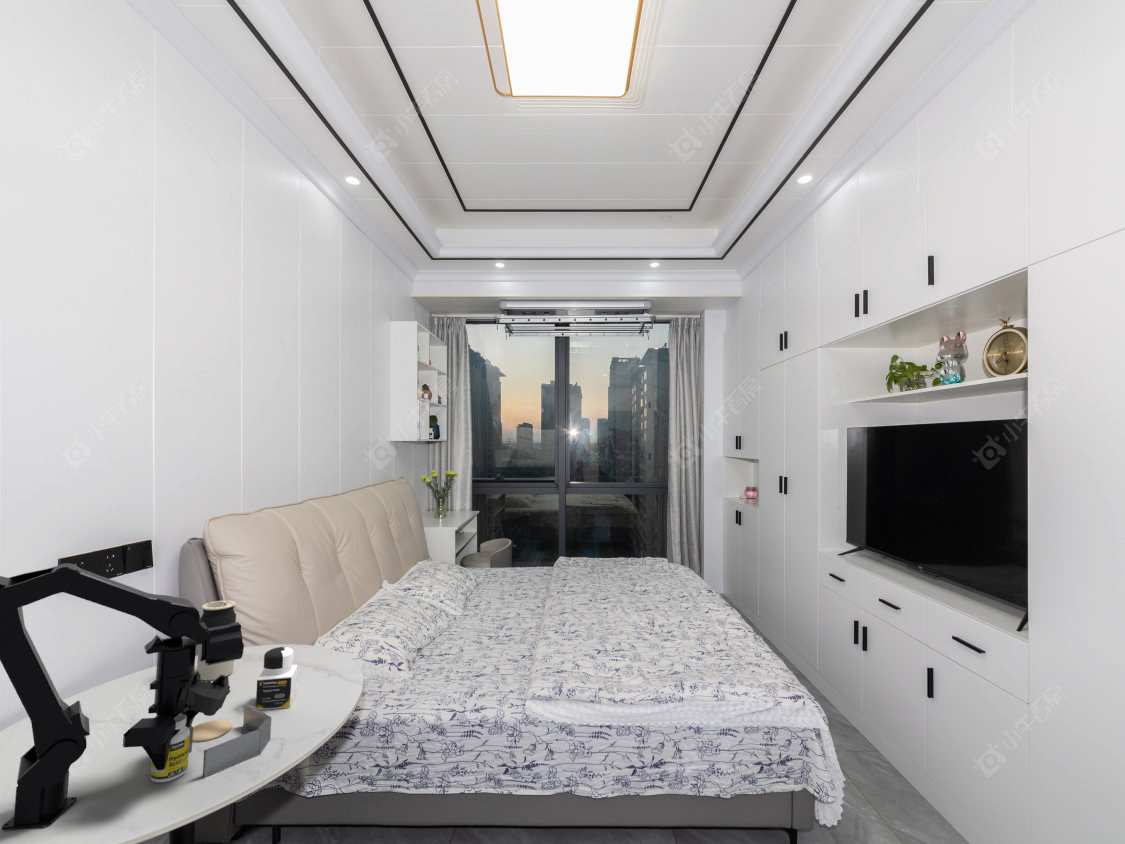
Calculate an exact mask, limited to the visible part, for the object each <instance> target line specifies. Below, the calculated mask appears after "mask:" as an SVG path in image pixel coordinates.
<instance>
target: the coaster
mask: <svg viewBox="0 0 1125 844" xmlns="http://www.w3.org/2000/svg"><path fill="white" fill-rule="evenodd" d="M192 727H193V742H192V743H202V742H208V741H209V742H210V741H212V740H215V739H218V738H221V737H223V736H225V735H227V734H228V733H229V732H230V731H231V730H232V728H233V722H231V721H230V720H226V719H217V720H209V721H206V722H201V723H198V724H197V725H194V726H192Z"/></svg>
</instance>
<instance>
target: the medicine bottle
mask: <svg viewBox="0 0 1125 844" xmlns="http://www.w3.org/2000/svg"><path fill="white" fill-rule="evenodd" d="M297 683H298V664H294V649H292V648H291V647H288V646H278V647H274V648H271V649H270V650H268V651H266V652H265V653H264V655H263V670H262V671H261V673H260V674H259V676H258V677H257V679H256V693H255V708H256V709H258V710H260V711H267V710H278V709H287V708H290V707H291V705H292V703H293V702H294V699H295V697H296V695H297Z"/></svg>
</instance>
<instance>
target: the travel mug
mask: <svg viewBox="0 0 1125 844" xmlns="http://www.w3.org/2000/svg"><path fill="white" fill-rule="evenodd" d="M235 606H236V601H233V600H228V599H227V600H216V601H210V602H207V603H204V604H203V605H201V609H202V610H203V611H202V612H203V614H202V615H201V616H200V622H204V623H205V625H206V626H207V628H213V627H219V626H224V625H228V624H231V623H236V622H237V613H236V612H235V610H234V609H235ZM234 661H235V660H232V661H227V662H223V663H218V664H213V665H209V666H206V664H205V660H204V661H199V658H198V657H197V662H196V663H197V664H196V671H199V674H201V677H200V679H201V681H204V682H208V681H209V680H211V681H214V680H216V679H217V678H218V677H219V676H220V675H224V676H227V677H229V675H231V674H232V673H233V672H234Z"/></svg>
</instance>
